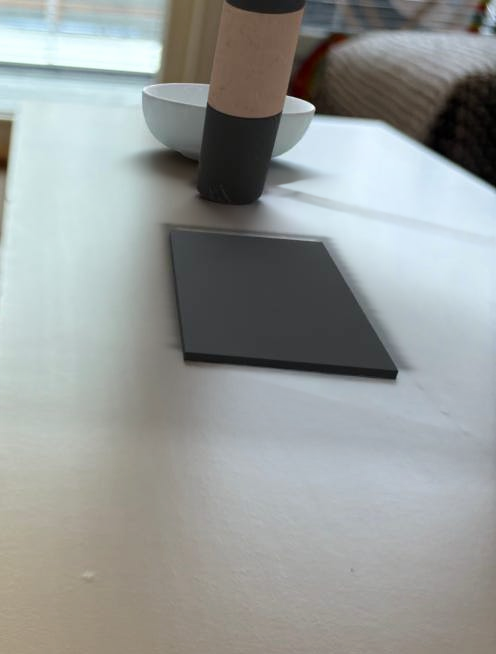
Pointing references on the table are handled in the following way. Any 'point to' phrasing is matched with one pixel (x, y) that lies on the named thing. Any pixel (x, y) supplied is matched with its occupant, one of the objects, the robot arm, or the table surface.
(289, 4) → the travel mug
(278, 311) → the mat
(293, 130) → the serving bowl
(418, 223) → the table surface
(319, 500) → the table surface
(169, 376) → the table surface
